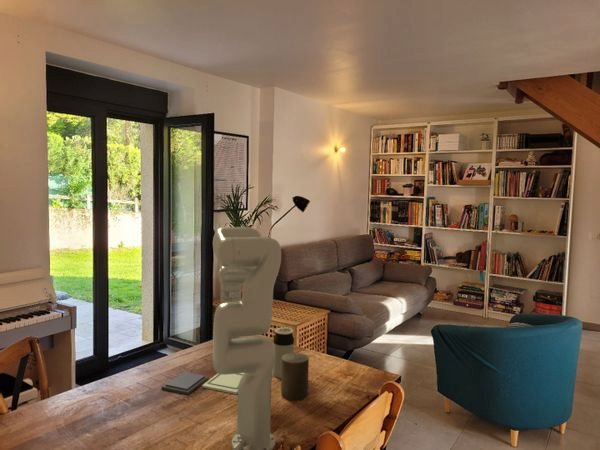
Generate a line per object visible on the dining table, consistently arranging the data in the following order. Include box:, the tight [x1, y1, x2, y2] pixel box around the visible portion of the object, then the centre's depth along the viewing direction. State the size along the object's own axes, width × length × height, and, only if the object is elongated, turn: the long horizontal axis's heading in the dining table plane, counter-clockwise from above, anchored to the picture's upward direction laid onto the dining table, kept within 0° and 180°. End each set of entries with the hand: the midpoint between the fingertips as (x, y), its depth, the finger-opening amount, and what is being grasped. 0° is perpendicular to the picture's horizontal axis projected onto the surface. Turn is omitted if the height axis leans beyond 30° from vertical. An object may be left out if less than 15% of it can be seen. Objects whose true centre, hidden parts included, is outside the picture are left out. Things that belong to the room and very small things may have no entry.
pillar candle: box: [280, 352, 310, 402], centre depth 165 cm, size 10×10×15 cm
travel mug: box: [272, 326, 295, 379], centre depth 181 cm, size 8×8×18 cm
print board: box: [201, 373, 244, 395], centre depth 174 cm, size 16×14×1 cm
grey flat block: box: [161, 371, 210, 395], centre depth 171 cm, size 14×11×2 cm
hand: (230, 341), depth 173 cm, fingers closed on stamp, 5 cm apart
